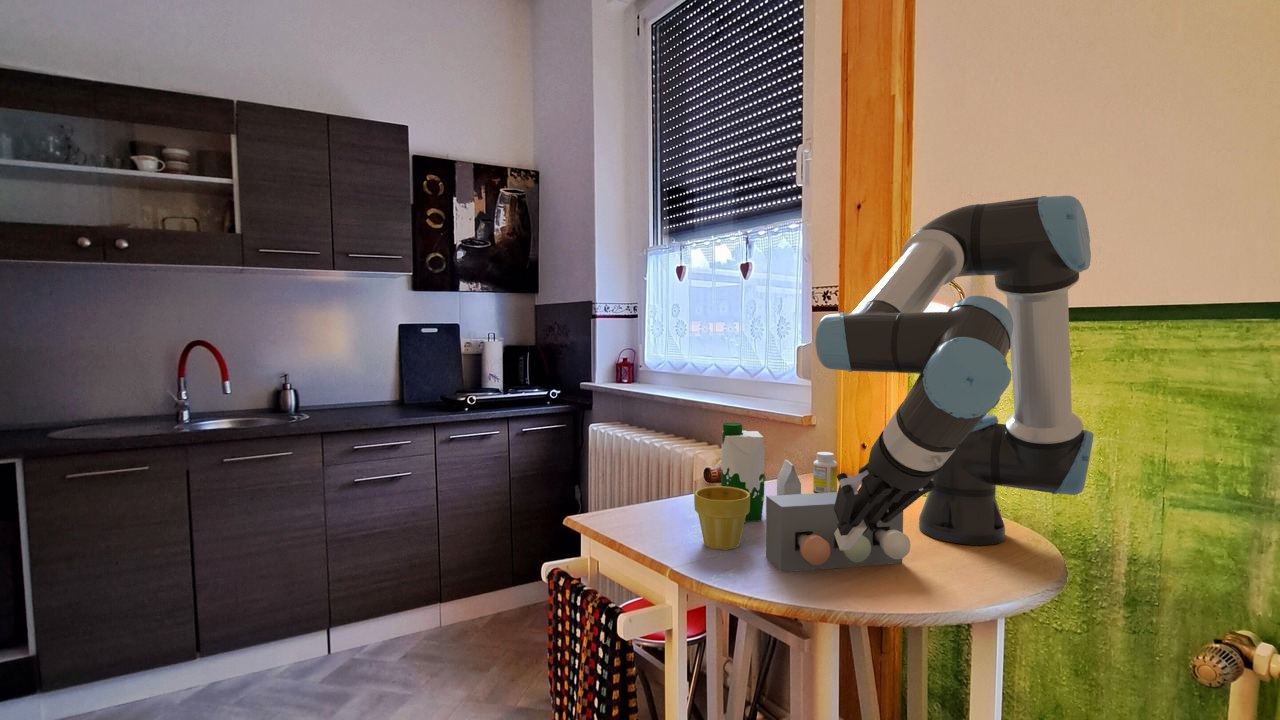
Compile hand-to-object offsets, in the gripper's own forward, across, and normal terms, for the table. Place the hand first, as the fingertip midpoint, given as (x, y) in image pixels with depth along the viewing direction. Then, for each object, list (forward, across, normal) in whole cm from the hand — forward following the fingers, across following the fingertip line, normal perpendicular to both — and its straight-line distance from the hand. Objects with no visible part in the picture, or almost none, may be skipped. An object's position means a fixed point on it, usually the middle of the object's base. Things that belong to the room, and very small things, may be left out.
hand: (841, 541), depth 94 cm
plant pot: (+28, -8, +14) cm, 32 cm away
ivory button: (+13, +15, +4) cm, 20 cm away
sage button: (+13, +8, +4) cm, 16 cm away
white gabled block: (+43, +14, +30) cm, 54 cm away
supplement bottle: (+48, +26, +34) cm, 65 cm away
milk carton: (+39, +1, +25) cm, 47 cm away
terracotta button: (+14, +1, +4) cm, 14 cm away
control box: (+20, +8, +6) cm, 22 cm away
